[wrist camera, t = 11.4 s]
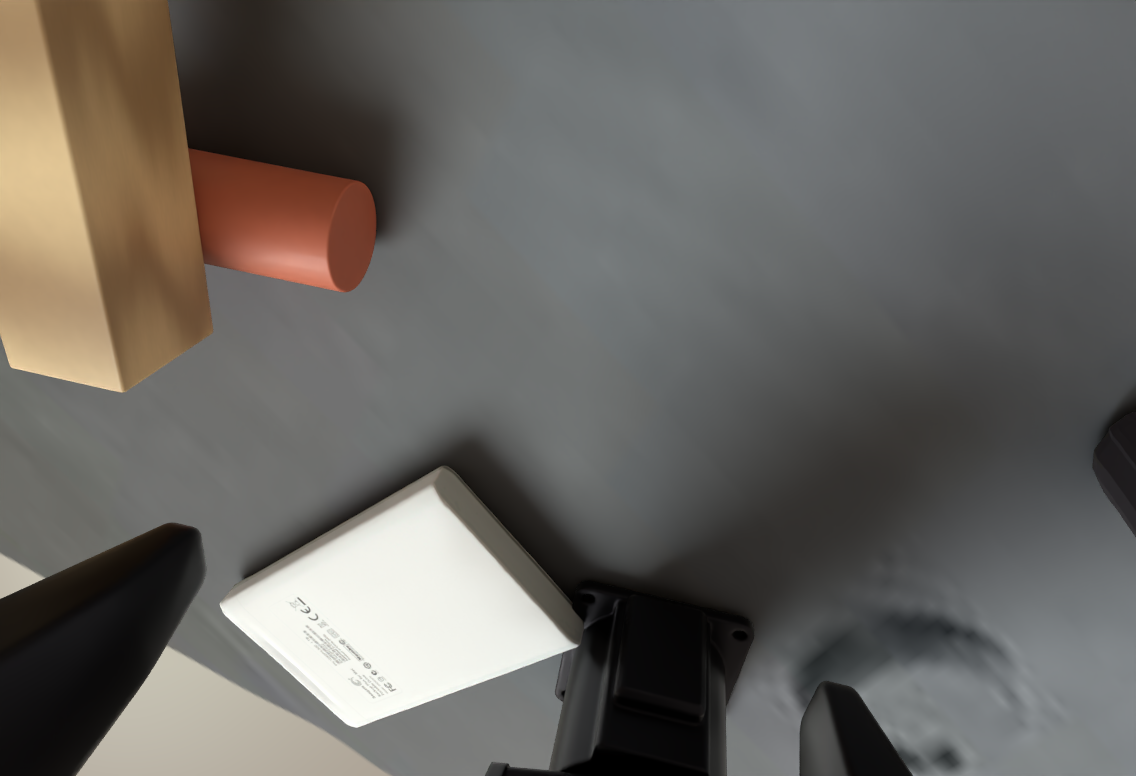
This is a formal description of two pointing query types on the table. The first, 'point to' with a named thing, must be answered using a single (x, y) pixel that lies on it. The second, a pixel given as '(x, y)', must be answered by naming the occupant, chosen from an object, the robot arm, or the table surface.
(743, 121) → the table surface
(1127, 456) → the two-way radio
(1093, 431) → the table surface
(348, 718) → the hard drive
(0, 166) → the light wooden bar
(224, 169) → the terracotta rod
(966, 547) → the table surface
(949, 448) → the table surface
